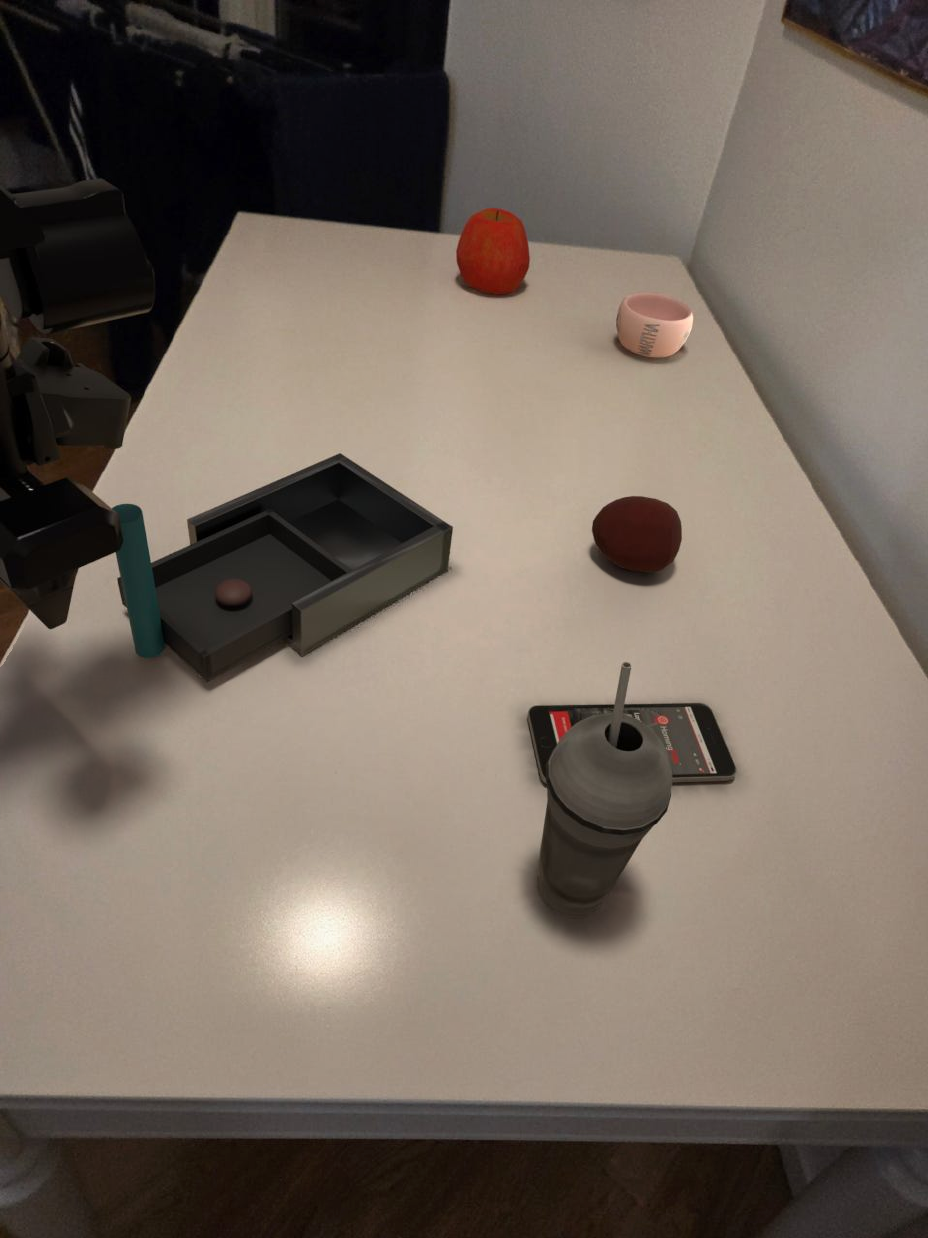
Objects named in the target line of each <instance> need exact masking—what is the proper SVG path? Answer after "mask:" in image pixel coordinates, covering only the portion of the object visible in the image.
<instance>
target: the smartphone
mask: <svg viewBox="0 0 928 1238" xmlns="http://www.w3.org/2000/svg"><path fill="white" fill-rule="evenodd" d="M614 705H615V703H609V704H608V703H607V704H606V703H605V704H604V703H603V704H549V705H548V704H547V705H546V704H544V705H541V704H540V705H533V706H531V707H530V708H529V709H528V711H527V715H526V716H527V722H528V725H529V730H530V735H531V739H532V745H533V749H534V752H535V758H536V762H537V767H538V773H539V777H540V780H541V781H542V782H543V783H544V784H546V785H547V783H546V764H547V762H548V759H549V757H550V755H551V752H552V751H553V749H554V748H555V747H556V746H557V743H558V742H559V740H560V739H561V737H562V736H563V735H564V734H565V733H566V732H567V731H568V730H569V729H570V728H571V727H573V726H574V725H575V724H576V723H578V722H580V721H581V720H584V719H586V718H588V717H590V716H593V715H598V714H605V713H613V710H614ZM623 714H624V715H627V716H630V717H633V718H635V719H638V720H639V721H641V722H642V723H644V724H646V725H647V726H649V727H650V728H651V730H652V731H653V732H654V733H655V734H656V735H657V736H658V737H659V738H660V739H661V741H662V743H663V745H664V747H665V749H666V751H667V753H668V755H669V757H670V763H671V770H672V777H673V780H672V783H687V782H688V783H689V782H690V783H691V782H692V783H693V782H722V781H723V782H726V781H731V780H733V779H734V778H735V776H736V774H737V772H738V770H737V766H736V764H735V761H734V759H733V757H732V755H731V752H730V750H729V748H728V744H727V743H726V740H725V737H724V735H723V733H722V731H721V728H720V725H719V724H718V722H717V719H716V716H715V714H714V712H713V709H712V708H711V707H710V706H709V705H708V704H706V703H703V702H677V703H676V702H675V703H673V702H671V703H668V702H665V703H625V704H624V709H623Z"/></svg>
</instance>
